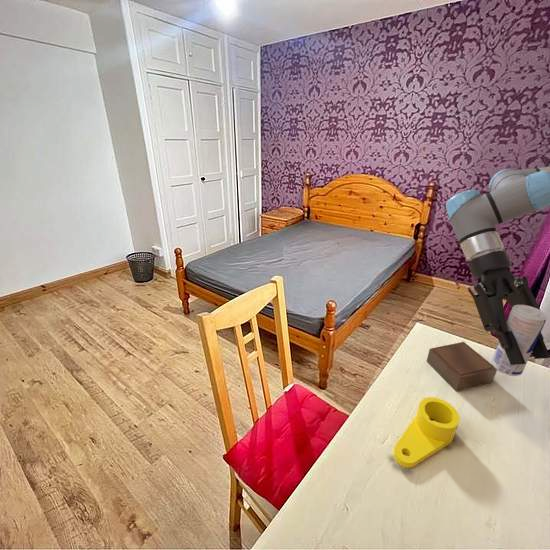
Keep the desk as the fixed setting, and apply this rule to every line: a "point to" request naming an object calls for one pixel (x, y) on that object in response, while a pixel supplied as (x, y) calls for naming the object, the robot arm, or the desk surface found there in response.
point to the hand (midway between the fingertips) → (530, 360)
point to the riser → (461, 366)
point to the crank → (427, 432)
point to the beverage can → (520, 337)
